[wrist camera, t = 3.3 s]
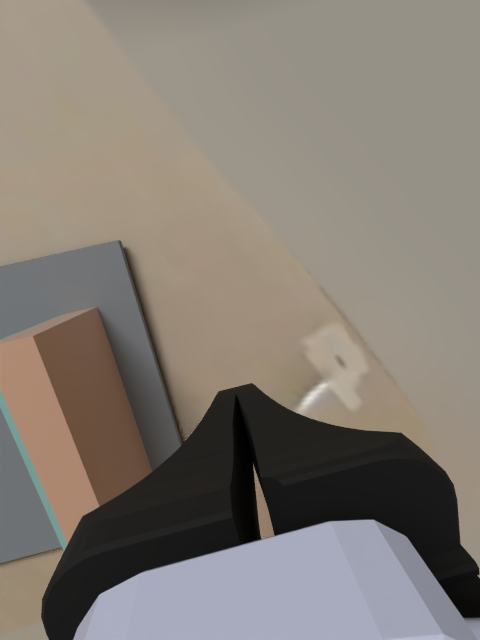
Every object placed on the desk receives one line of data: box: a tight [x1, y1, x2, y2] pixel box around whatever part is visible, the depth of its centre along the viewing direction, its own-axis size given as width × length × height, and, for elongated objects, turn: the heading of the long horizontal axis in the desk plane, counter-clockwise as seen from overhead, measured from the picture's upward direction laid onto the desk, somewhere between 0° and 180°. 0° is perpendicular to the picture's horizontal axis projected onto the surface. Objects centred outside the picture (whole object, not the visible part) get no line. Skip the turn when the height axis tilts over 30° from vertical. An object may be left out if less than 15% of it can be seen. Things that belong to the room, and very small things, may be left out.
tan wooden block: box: [0, 307, 152, 551], centre depth 12 cm, size 2×9×5 cm, turn 13°
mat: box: [0, 240, 182, 563], centre depth 14 cm, size 12×14×1 cm
